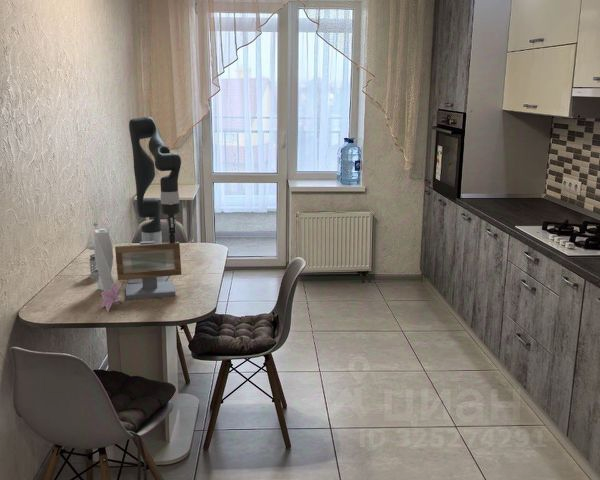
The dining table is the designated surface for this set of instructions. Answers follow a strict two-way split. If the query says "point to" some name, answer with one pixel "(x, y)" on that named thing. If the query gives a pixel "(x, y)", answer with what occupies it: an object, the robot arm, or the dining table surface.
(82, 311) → the dining table surface
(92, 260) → the french press
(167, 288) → the display stand
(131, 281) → the play button award
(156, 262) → the picture frame
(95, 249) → the skyscraper
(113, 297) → the lily
